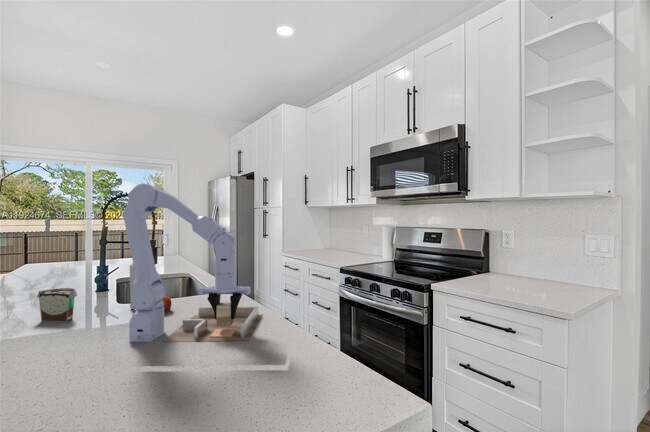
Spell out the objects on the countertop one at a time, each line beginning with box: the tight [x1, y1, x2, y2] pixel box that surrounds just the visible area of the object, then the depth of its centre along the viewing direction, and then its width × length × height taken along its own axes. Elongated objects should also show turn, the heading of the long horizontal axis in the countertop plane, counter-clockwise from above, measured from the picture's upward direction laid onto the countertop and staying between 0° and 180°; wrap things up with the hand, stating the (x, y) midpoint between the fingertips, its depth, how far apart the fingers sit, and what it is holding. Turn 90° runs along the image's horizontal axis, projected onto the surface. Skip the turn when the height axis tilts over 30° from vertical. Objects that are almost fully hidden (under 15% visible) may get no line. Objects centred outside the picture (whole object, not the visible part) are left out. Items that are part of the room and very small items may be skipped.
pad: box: [210, 329, 236, 337], centre depth 96 cm, size 6×6×1 cm
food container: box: [36, 287, 78, 323], centre depth 113 cm, size 12×6×10 cm, turn 84°
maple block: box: [217, 301, 234, 326], centre depth 98 cm, size 4×4×6 cm
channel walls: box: [182, 306, 259, 339], centre depth 102 cm, size 21×20×3 cm
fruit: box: [163, 295, 172, 315], centre depth 117 cm, size 8×8×8 cm
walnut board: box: [161, 314, 264, 343], centre depth 102 cm, size 24×24×1 cm
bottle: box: [129, 262, 136, 310], centre depth 125 cm, size 5×5×25 cm
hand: (225, 318), depth 98 cm, fingers closed on maple block, 4 cm apart
